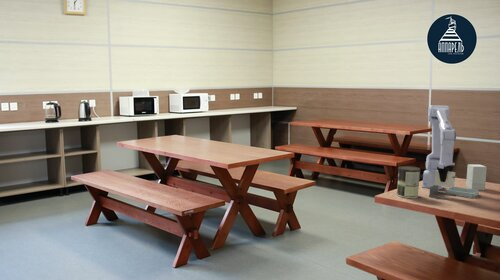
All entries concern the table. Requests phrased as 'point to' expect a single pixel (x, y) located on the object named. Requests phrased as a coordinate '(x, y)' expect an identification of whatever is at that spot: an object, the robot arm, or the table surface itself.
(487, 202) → the table surface
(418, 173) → the coffee can
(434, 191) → the dock
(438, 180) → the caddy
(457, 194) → the tray
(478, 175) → the supplement box
